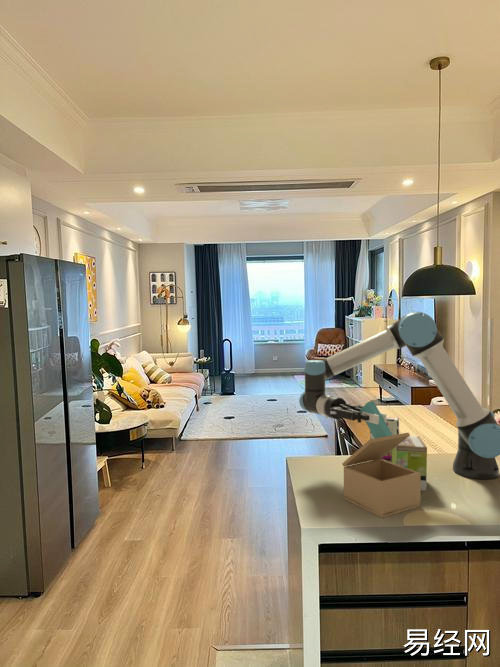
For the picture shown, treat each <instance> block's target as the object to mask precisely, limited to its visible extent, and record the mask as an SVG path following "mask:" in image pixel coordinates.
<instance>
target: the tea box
mask: <svg viewBox="0 0 500 667" xmlns="http://www.w3.org/2000/svg"><path fill="white" fill-rule="evenodd" d="M390 462H391V463H394V464H396V465H399V466H402V467H405V468H408V469H411V470H413V471H416V472H419V473H421V486H420V492H421V491H424V492H425V491H426V490H427V478H428V477H427V474H428V473H427V468H428V447H427V445H426V444H425V442H424V441H423V439H422V438H421V436H419V435H418V436H417V435H416V436H415V435H410V436H409V437H407V438H406V439H405V440H404V441H402V442H401V443H400V444H399V445H397V446H396V447H395V448H394V449H392V452H391V460H390Z"/></svg>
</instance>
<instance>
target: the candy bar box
mask: <svg viewBox="0 0 500 667" xmlns="http://www.w3.org/2000/svg"><path fill="white" fill-rule="evenodd" d="M386 418H387V423H386V424H387V426H388V428H389V430H390V432H391V433H392V435H397V434H400V418H399V417H391V416H386ZM369 433H370V434H369V438H370V439H374V437H373V435H372V433H371V431H369ZM370 439H369V440H370ZM391 452H392V450H391V451H390V452H389V453H387V454H386V455H385V456H383V457H382V458H381V459H382V460H386V461H388V460H390V461H391Z"/></svg>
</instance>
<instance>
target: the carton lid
mask: <svg viewBox="0 0 500 667" xmlns="http://www.w3.org/2000/svg"><path fill="white" fill-rule="evenodd" d="M362 406H363V407H362V408H361V409H360V412H361V414H362V412H367V413H371V414H376V415H379V424H374V423H370V422H366V421H364V422H365V424H366V425H367V427H368V429H369V430H370V431H371V433H372V435H373V437H374V439H369V440H368V441H365V443H364V444H363V445H362V446H360V447H359V449H357V450H355V452H354V453H353V454H351V455H350V456H349V457H348V458H347V459H346V460H345V461H344V462H342V464H341V465H342V466H343V467H345V466H350V465H355V464H360V463H364V462H369V461H374V460H378V459H381V458H382V457H383V456H385V455H386V454H387V453H389V452H390V451H391V450H392V449H394V448H395V447H396V446H397V445H399V444H400V443H401V442H402V441H404V440H405V439H406V438H407V437H409V436H411V434H410V433H409V432H404V433H399V434H397V435H392V433H391V432H390V430H389V428H388V426H387V424H386V423H385V421H384V419H383V417H382V415H381V414H380V413H381V412H380V410H379V408H378V406H377V404H376V403H375V401H367V403H365V404H364V405H362ZM370 431H369V432H370Z"/></svg>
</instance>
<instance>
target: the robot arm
mask: <svg viewBox="0 0 500 667" xmlns="http://www.w3.org/2000/svg"><path fill="white" fill-rule="evenodd" d="M444 340H445V339H444V338H443V336H442V334H441V333H440V331H439V329H438V328H437V323H436V322H435V320H434V318H432V316H430V315H429V314H427V313H425V312H421V311H412V312H409V313H407V314H405V315H404V316H402V317H401V318H400V319H398V320H396V321H395V322H394V323H392V324H389V325H387V326H386V328H385V330H383V331H381V332H378V333H376V334H375V335H372V336H371V337H368V338H366V339H364V340H362V341H359V342H358V343H356V344H353V345H351V346H350V347H347V348H345V349H342V350H340V351H339V352H337V353H335V354H332V355H330V356H328V357H326V358H324V359H322V360H320V359H317V360H316V359H311V360H309V359H308V360H306V361H305V363H304V369H303V371H304V392H302V393H301V394H300V397H299V399H298V400H299V406H300V407H301V409H302V410H304V411H306V412H308V413H310V414H311V413H312V414H317V415H319V416H323V417H325V418H326V419H328V418H331V419H334V420H341V419H344V420H345V419H346V420H349V421H356V420H357V423H362V421H363V422H365V421H366V422H370V423H374V424H379V415H376V414H371V413H367V412H362V414H361V412H360V409H361V408H362V407H363V406H364V405H361V404H357V405H353V404H351V403H347V402H346V400H345V399H344V398H342V397H338V396H335V395H328V394H326V380H328V379H330V378H332V377H334V376H337V375H339V374H341V373H343V372H346V371H347V370H350V369H352V368H354V367H356V366H359V365H360V364H363V363H365V362H367V361H369V360H372V359H374V358H376V357H378V356H380V355H383V354H384V353H387V352H389V351H391V350H394V349H398V350H401V349H402V348H405V347H406V348H407V349H408V351H409V352H410V354H411V356H412V357H413V358H417V359H419V360H420V362H421V364H422V365H423V367H424V368H425V369H426V371H427V373H428V374H429V376H430V377H431V379H432V380H433V382H434V384H435V385H436V387H437V389H438V390H439V392H440V393H441V395H442V396H443V398H444V399H445V401H446V402H447V404H448V406H449V407H450V409H451V411H452V412H453V414H454V415H455V417H456V423H455V425H456V427H457V434H458V435H457V446H458V447H457V452H456V453H455V454H456V455H455V457H454V459H453V460H454V461H453V463H452V471H453V472H454V473H455V474H457V475H459V476H464V477H466V478H471V479H478V480H493V479H497V478H498V477H499V476H500V468H499V464H498V462H497V460H496V458H497V457H499V456H500V424H499V423H498V422H497V420H496V418H495V414H494V412H493V411H492V410H490V409H489V408H486V407H482V406H481V404H480V402H479V401H478V400H477V397H476V396H475V394H474V393H473V391H472V390H471V388H470V387H469V385H468V384H467V382H466V380H465V379H464V377H463V376H462V374H461V373H460V371H459V369H458V367H457V366H456V365H455V363H454V362H453V360H452V359H451V357H450V355H449V354H448V352H447V350H446V349H445V348H444ZM380 414H381V415H382V417H383V419H384V421H385V423H387V418H386V417H387V414H386V413H383V412H380ZM366 422H365V423H366Z"/></svg>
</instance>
